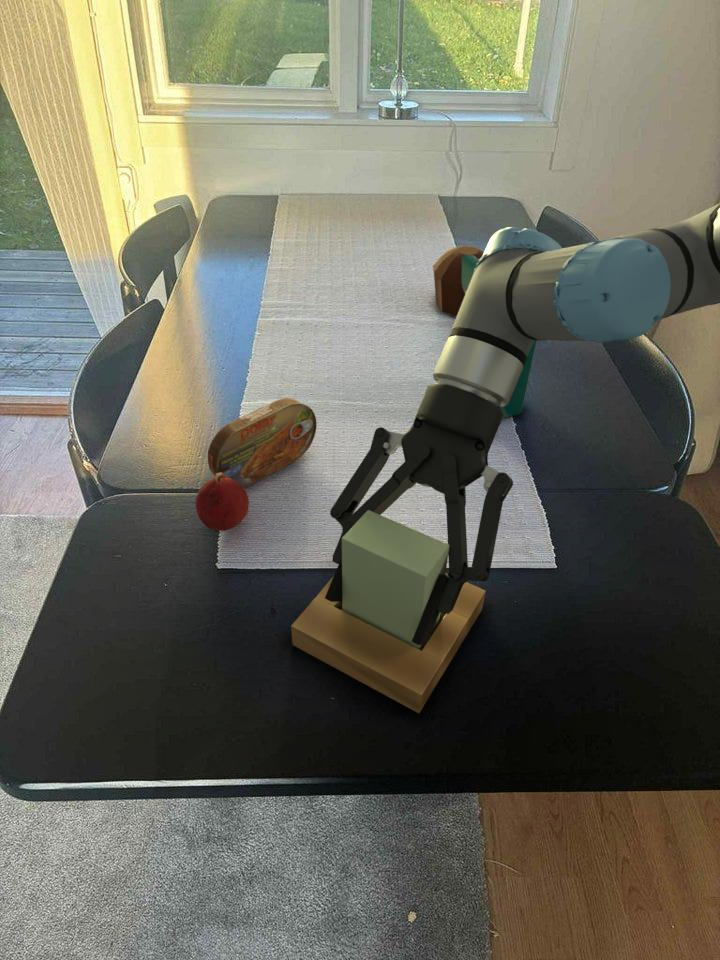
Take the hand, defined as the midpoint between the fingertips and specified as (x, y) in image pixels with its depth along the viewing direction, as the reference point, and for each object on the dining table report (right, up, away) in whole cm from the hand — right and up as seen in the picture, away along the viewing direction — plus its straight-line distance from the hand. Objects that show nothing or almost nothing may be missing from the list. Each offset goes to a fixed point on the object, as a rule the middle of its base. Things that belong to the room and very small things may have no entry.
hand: (375, 620), depth 65 cm
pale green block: (+2, -2, +5) cm, 5 cm away
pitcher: (+16, +24, +35) cm, 46 cm away
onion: (-17, +7, +16) cm, 24 cm away
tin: (-13, +14, +24) cm, 31 cm away
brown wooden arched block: (+16, +44, +59) cm, 75 cm away
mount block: (+2, -2, +5) cm, 6 cm away
